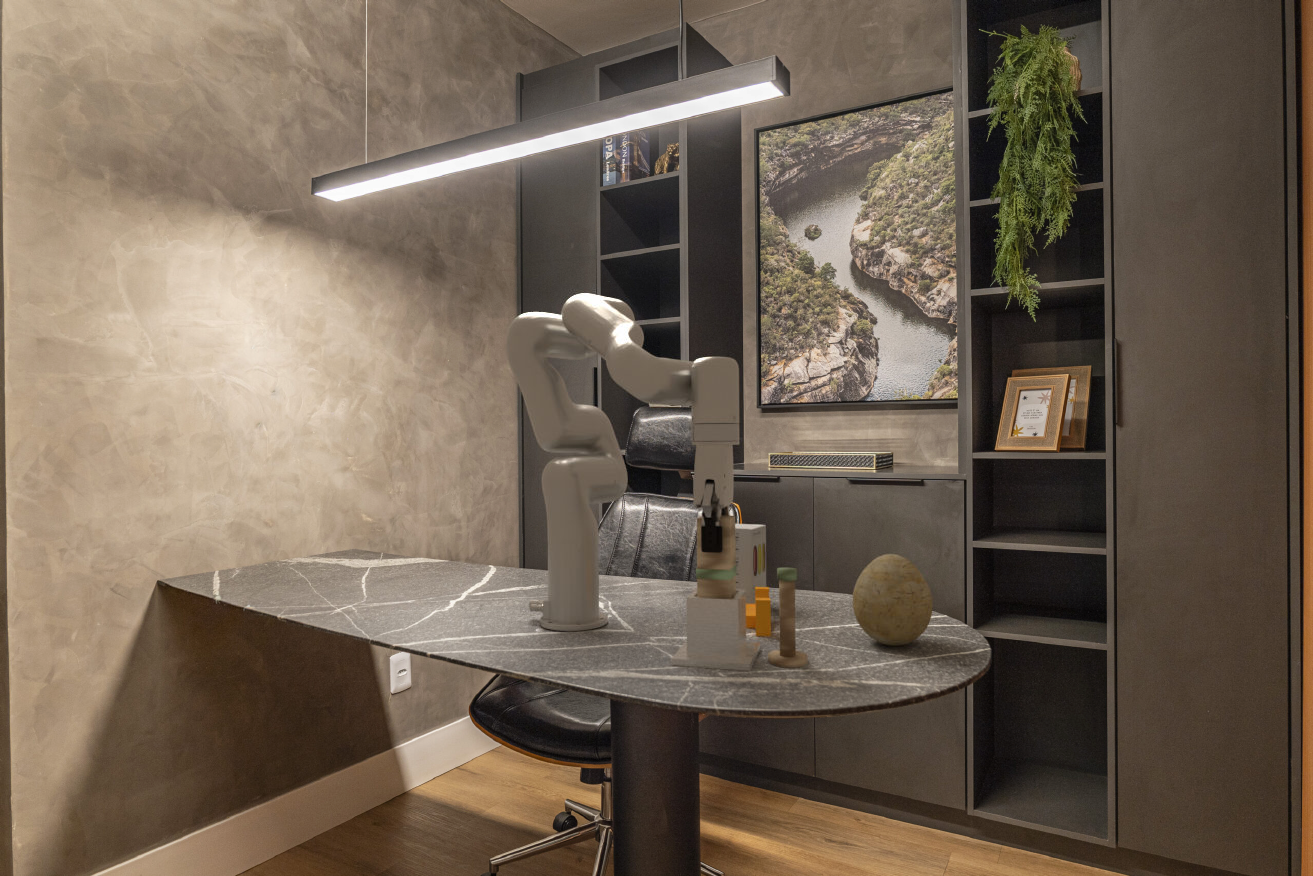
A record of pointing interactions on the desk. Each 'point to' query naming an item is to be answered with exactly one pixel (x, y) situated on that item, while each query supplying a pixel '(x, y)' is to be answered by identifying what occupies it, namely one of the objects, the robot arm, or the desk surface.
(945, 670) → the desk surface
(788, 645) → the marker post
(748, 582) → the supplement box
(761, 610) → the pipe clamp
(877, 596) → the fossilized egg
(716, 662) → the sleeve
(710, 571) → the column
